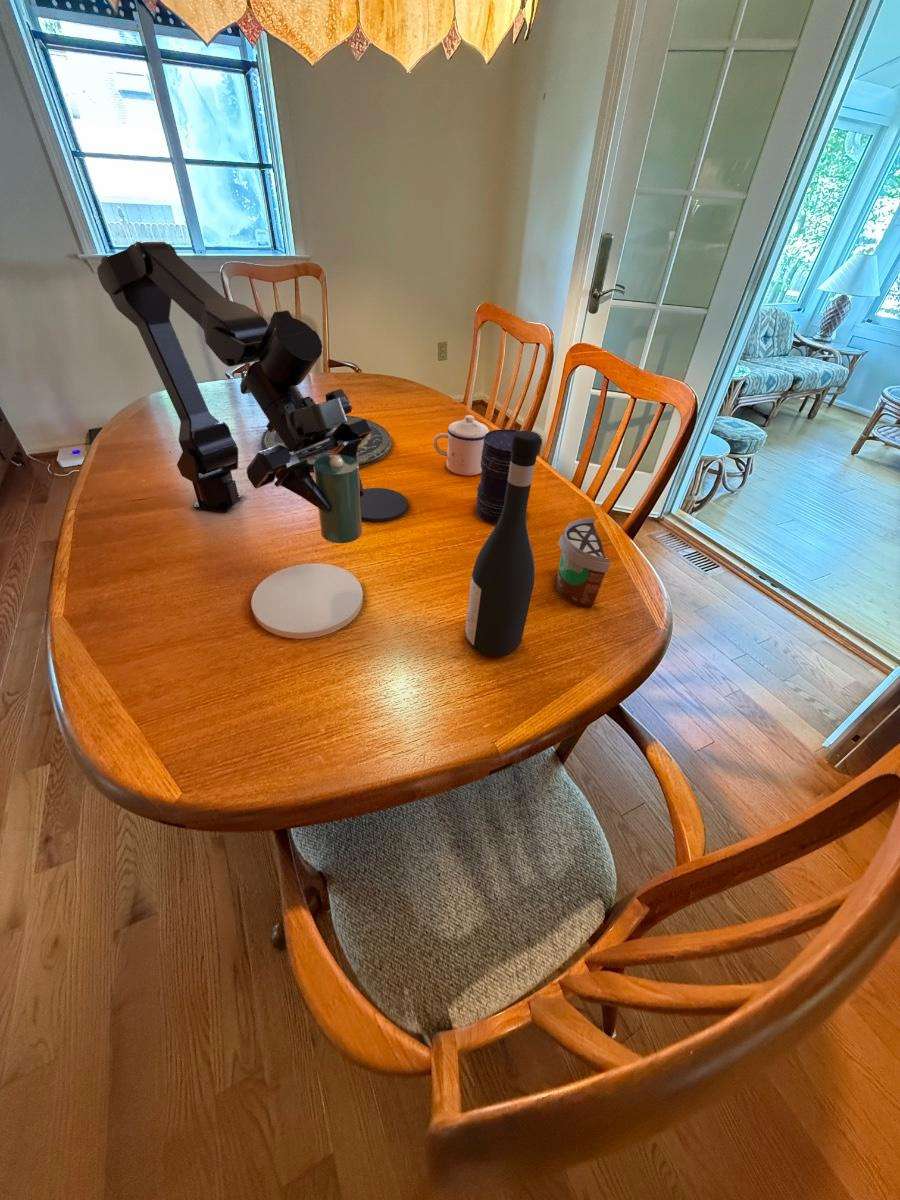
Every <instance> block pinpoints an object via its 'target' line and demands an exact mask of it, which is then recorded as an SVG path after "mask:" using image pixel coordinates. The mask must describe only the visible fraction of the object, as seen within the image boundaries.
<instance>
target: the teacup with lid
mask: <svg viewBox="0 0 900 1200" xmlns="http://www.w3.org/2000/svg"><path fill="white" fill-rule="evenodd" d="M488 432H490V430H489V427H488V426H487V425H486V424H484V423H482V422H479V421H478V420H476V419H475V416H474V415H471V414H467V415H465V417H464V418H463V419H461V420H456V421H454V422H451V423H450V424H449V425H448V428H447V433H446V432H441V433H438V434H437V435H436V436H434V439H433V447H434V450H435V451H436V452H437V454H438V455H440V456H443V457H446V469H448V470H449V471H450V472H451V473H453V474H456V475H458V476H459V475H460V476H466V477H467V476H468V477H469V476H477V475H479V474H481V472H482V468H481V459H482V458H481V456H482V449H483V444H484V436H485V434H487V433H488ZM441 438H445V439H447V450H446V451H443V450H441V449H440V447H439V445H438V440H439V439H441Z"/></svg>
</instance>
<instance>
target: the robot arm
mask: <svg viewBox="0 0 900 1200" xmlns="http://www.w3.org/2000/svg"><path fill="white" fill-rule="evenodd" d="M96 271H97V277H98V280H99V283H100V285H101V287H102V289H103V290H104V291H105V292H106V293H107V294H108V296H109V297H110V299H111V301H112V303H113V306H114V307H115V308H116V310H118V312H119V313H121V314H122V315H123V316H124V317H125V318H127V320H129V321H130V322H131V323H132V324H133V325H134V326H135V327H136V328H137V330H138V331H139V333H140V336H141V338H142V340H143V343H144V345H145V347H146V350H147V351H148V354H149V355H150V358H151V360H152V363H153V364H154V366H155V368H156V371H157V373H158V375H159V378H160V379H161V382H162V384H163V386H164V388H165V391H166V393H167V395H168V398H169V400H170V401H171V404H172V405H173V408H174V411H175V412H176V415H177V417H178V419H179V422H180V425H179V433H178V443H179V446H180V448H181V451H182V452H181V455H180V457H179V459H178V461H177V463H176V467H177V469H178V471H179V473H180V475H181V476H182V477H183V478H185V479H186V480H188V481H190V482H191V483H192V487H193V490H194V493H195V496H196V500H197V501H196V502H195V503H194V504H193V505H192V506H193V508H194V509H196V510H197V509H198V510H204V511H212V512H218V513H223V514H224V513H227V512H229V510H231V509H232V507H234V506H235V505H236V504H237V503H238V502H239V501H240V500H241V499H242V498H243V496H242V494H241V493H239V491H238V488H237V484H236V483H237V482H236V480H235V479H234V478H233V474H232V471H236V470H238V469H239V448H238V445H237V443H236V441H235V439H234V438H233V436H232V433H231V430H230V427H229V425H228V424H227V423H226V422H225V421H222V422H220V421H219V420H218V419H217V418H216V417H214V416H213V414H211V412H210V411H209V408H208V406H207V404H206V401H205V398H204V396H203V394H202V392H201V389H200V387H199V384H198V382H197V380H196V378H195V376H194V373H193V371H192V369H191V366H190V364H189V361H188V359H187V357H186V355H185V352H184V350H183V348H182V345H181V344H180V341H179V338H178V336H177V334H176V332H175V329H174V326H173V324H172V322H171V318H170V317H171V307H172V301H173V302H175V303H176V305H178V306H179V307H180V308H181V309H182V310H183V311H184V312H185V313H186V314H187V315H188V316H189V317H191V318H192V319H193V320H194V321H195V322H196V323H197V324H198V325H199V327H200V328H202V330H203V333H204V334H203V335H204V342H205V344H206V346H208V348H209V349H210V350H211V351H212V352H213V354H214V355H215V356H216V357H217V359H219V361H220V362H221V363H223V364H224V365H225V366H227V367H236V366H242V365H245V364H250V363H252V364H251V365H250V366H249V367H248V369H247V371H242V372H241V373H240V375H241V379H240V380H241V382H240V385H239V387H240V393H241V394H242V395H246V394H251V395H252V397H253V398H254V400H255V401H256V403H257V405H258V406H259V408H260V409H261V411H262V413H263V415H264V416H265V417H266V418H267V420H268V423H267V424H266V426H265V427H266V428H267V429H268V430H269V431H270V433H271V432H274V431H276V433H277V434H278V436H279V437H280V439H281V440H282V442H283V444H284V445H285V447H284V446H281V445H278V446H275V447H272V448H269V449H266V450H263V449H262V450H261V451H257V453H256V454H255V456H254V457H253V459H252V460H251V461H250V463H249V464H248V466H247V468H246V476H247V479H248V480H249V482H250V483H251V485H252V486H253V488H254V489H260V488H262V487H265V486H268V485H270V484H272V483H273V485H274V486H275V487H276V488H279V487H283V488H284V489H286V490H288V491H290V492H292V493H294V494H296V495H297V496H299V497H301V498H302V499H304V500H305V501H307V502H308V503H310V504H311V505H313V506H314V507H315V508H317V509H318V510H319V509H320V510H322V511H323V512H325V513H329V512H331V507H330V505H329V503H328V501H327V500H326V498H325V497H324V495H323V493H322V492H321V490H320V489H319V487H318V486H317V484H316V482H315V479H314V478H313V477H312V475H311V471H309V467H308V462H307V459H309V458H312V457H314V456H317V455H319V454H322V453H325V452H327V451H330V452H331V454H332V455H345V456H349V457H352V458H354V459H355V460H357V456H356V455H357V448H358V446H359V445H360V444H361V442H362V441H363V440H364V439H365V438H366V437H367V436H368V435H369V434H370V433H371V432H372V430H371V428H370V426H369V425H368V423H367V421H366V420H365V419H366V418H363V417H360V416H355V417H356V418H354V419H351V420H348V421H347V419H346V416H345V415H347V414H351V413H352V411H353V406H352V404H351V400H350V399H349V397H348V395H347V394H346V393H345V391H344V390H343V388H339V389H336V390H332V391H330V392H326V393H325V401H323V402H320V403H316V402H315V400H314V399H313V398H312V397H311V396H310V395H309V396H305V397H304V396H303V395H302V392H301V391H300V390H299V388H298V387H297V386H299V385H300V384H302V383H303V381H304V380H305V378H306V377H307V376H308V374H309V373H310V371H311V370H312V368H313V367H314V366H315V364H316V363H317V361H318V360H319V359H320V357H321V355H322V353H323V344H322V340H321V338H320V336H319V334H318V332H317V331H316V330H314V329H313V328H312V327H310V325H308V324H307V323H306V322H304V321H302V320H300V319H297V318H295V317H293V316H292V314H291V312H290V311H289V310H288V309H284V310H278V311H277V310H276V311H274V312H273V313H272V315H271V318H270V322H269V323H268V321H267V320H266V319H265V317H263V316H262V315H261V314H260V313H258V312H257V311H255V310H253V308H251V307H249V306H247V305H245V304H242V303H240V302H236V301H232V300H229V299H227V298H226V297H224V296H223V295H221V294H220V293H219V292H218V290H216V289H215V288H214V287H213V286H212V285H210V284H209V282H207V281H206V280H205V279H204V278H203V277H202V276H201V275H200V274H199V273H198V272H197V271H196V270H194V269H193V268H192V267H191V266H190V265H189V264H187V263H186V262H185V261H184V259H182V257H180V256H179V255H178V253H177V251H176V249H175V248H174V246H173V245H172V244H171V243H168V242H165V241H163V240H158V241H151V240H150V241H135V242H134V243H132V244H130V245H129V246H128V247H127V248H126V249H124V250H121V251H119V252H117V253H114V254H111V255H105V256H102V258H101V260H100V264H99V265H98V266H97V268H96ZM338 423H341V424H340V425H339V426H338V428H337V429H336V430H335V431H334V432H333V433H332V434H331V435H329V436H327V435H326V434H327V433H328V432H330V431H331V430H332V429H333V428H334V427H333V425H336V424H338ZM319 446H321V447H320V448H317V447H319ZM316 448H317V449H316ZM306 451H308V452H307V453H304V452H306ZM302 453H304V454H302ZM275 480H276V481H275ZM274 481H275V482H274ZM362 482H363V481H362V478H361V474H360V473H359V483H360V497H361V496H363V495H364V491H363V489H364V487H363V483H362Z"/></svg>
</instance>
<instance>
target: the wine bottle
mask: <svg viewBox="0 0 900 1200" xmlns="http://www.w3.org/2000/svg"><path fill="white" fill-rule="evenodd" d="M541 445H542V436H541V435H540V434H539V433H537V432H535V431H532V430H527V429H525V430H524V429H523V430H522V429H521V430H517V432H515V433H514V434H513V437H512V443H511V450H512V451H511V460H510V467H509V474H508V481H507V488H506V495H505V501H504V506H503V510H502V513H501V516H500V518H499V521H498V522H497V524H496V525H494V527H493V529H492V531H491V533H490V534H489V536H488V537H487V539H486V540H485V542H484V543H483V545H482V547H481V549H480V550H479V553H478V555H477V557H476V559H475V562H474V566H473V569H472V573H471V578H470V585H469V594H468V595H469V596H468V604H467V612H466V619H465V620H466V622H465V629H464V634H465V639H466V641H467V643H468V645H469V646H470V647H471V649H473V651H475V652H477V653H479V655H482V656H486V657H488V658H489V657H491V658H502V657H507V656H509V655H511V654H512V653H514V652H516V651H517V650H518V648H519V647H520V645H521V643H522V639H523V636H524V632H525V628H526V627H525V626H526V623H527V618H528V613H529V609H530V605H531V601H532V595H533V592H534V587H535V579H536V577H535V576H536V575H535V574H536V563H535V557H534V553H533V548H532V544H531V541H530V536H529V532H528V525H527V524H528V523H527V509H528V503H529V499H530V498H529V497H530V492H531V487H532V483H533V477H534V472H535V468H536V463H537V462H536V461H537V457H538V454H539V453H540V450H541Z"/></svg>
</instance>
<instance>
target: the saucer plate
mask: <svg viewBox="0 0 900 1200" xmlns="http://www.w3.org/2000/svg"><path fill="white" fill-rule="evenodd" d="M363 601H364V594H363V586H362V585H361V583H360V581H359V580H358V578H357V577H356V576H355V575H354V574H352V573H351V572H350V571H348V570H346V569H344V568H342V567H339V566H337V565H333V564H326V563H318V562H317V563H313V562H312V563H301V564H296V565H292V566H287V567H285V568H282V569H280V570H278V571H275V572H274V573H272V574H270V575H268V576H267V577H266V578H264V579H263V580H262V581H261V582H260V583H259V584H258V585H257V586H256V588H255V589H254V591H253V593H252V596H251V601H250V606H251V610H252V614H253V617H254V619H255V621H256V622H257V623H258V625H259V626H260V627H261V628H263V629H264V630H266V631H267V632H268V633H271V634H273V635H275V636H279V637H283V638H288V639H295V640H296V639H297V640H298V639H301V640H303V639H305V640H306V639H314V638H319V637H324V636H326V635H330V634H332V633H335V632H337V631H339V630H341V629H343V628H344V627H346V626H347V625H349V624H350V623H352V622H353V621H354V619H355V618H356V617H357V616H358V615H359V613H360V611H361V609H362V608H363Z"/></svg>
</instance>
